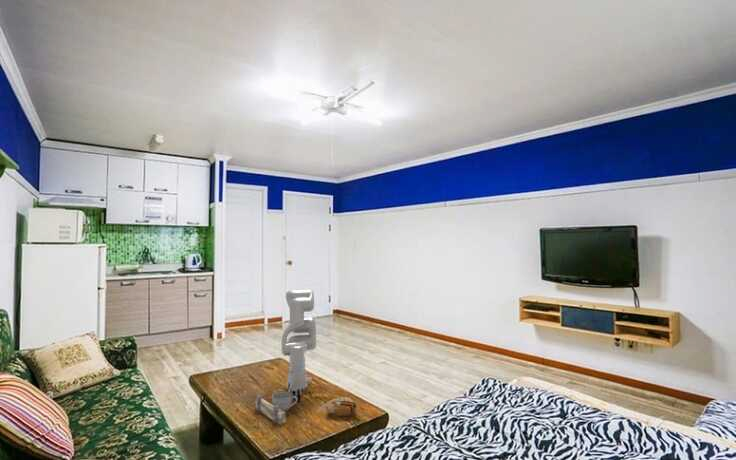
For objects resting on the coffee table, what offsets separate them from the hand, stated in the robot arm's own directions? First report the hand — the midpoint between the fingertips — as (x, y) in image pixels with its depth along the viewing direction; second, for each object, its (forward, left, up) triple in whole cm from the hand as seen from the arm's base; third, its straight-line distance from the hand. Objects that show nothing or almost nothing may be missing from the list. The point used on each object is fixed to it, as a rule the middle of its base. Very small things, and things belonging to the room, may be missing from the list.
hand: (297, 401), depth 205 cm
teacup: (+8, 0, -2) cm, 8 cm away
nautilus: (-11, +28, -3) cm, 30 cm away
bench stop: (+16, 0, -2) cm, 17 cm away
